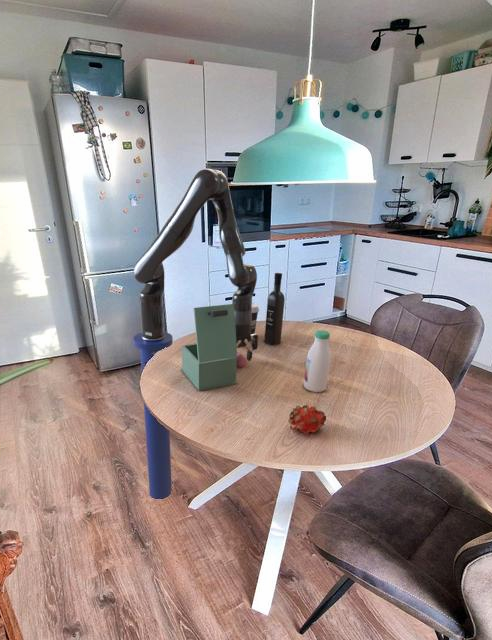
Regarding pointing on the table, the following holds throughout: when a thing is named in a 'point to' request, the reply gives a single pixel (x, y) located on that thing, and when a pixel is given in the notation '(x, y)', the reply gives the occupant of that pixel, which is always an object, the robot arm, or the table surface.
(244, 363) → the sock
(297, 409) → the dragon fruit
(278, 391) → the table surface
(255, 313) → the coffee cup
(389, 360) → the table surface
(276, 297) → the wine bottle
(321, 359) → the milk bottle
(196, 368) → the green rectangular box
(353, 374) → the table surface
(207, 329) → the green box lid
